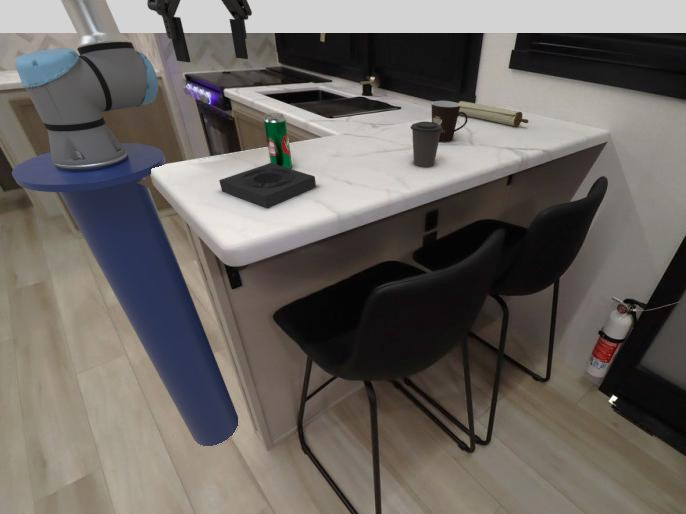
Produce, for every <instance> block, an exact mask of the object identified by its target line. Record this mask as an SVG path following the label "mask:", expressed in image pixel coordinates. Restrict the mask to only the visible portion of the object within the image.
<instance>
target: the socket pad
mask: <svg viewBox="0 0 686 514" xmlns="http://www.w3.org/2000/svg"><path fill="white" fill-rule="evenodd" d="M218 181H219V185H220V189H221V192H222V193H226V194H228V195H231V196H234V197H236V198H239V199H241V200H244V201H246V202H249V203H252V204H254V205H257V206H260V207H262V208H265V209H269V208H271V207H274V206H277V205H279V204H281V203H283V202H285V201H288V200H290V199H291V198H292V199H293V198H295V197H297V196H299V195H302V194H304V193H306V192H308V191H310V190H313V189H315V188H317V183H316V176H315V175H312V174H309V173H305V172H302V171H299V170H296V169H292V168H290V169H289V168H286V167H283V166H279V165H276V164H273V163H271V162H269V163H266V164H263V165H261V166H257V167H254V168H251V169H249V170H245V171H242V172H239V173H236V174H234V175H230V176H227V177H224V178H221V179H219V180H218Z"/></svg>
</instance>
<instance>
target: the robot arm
mask: <svg viewBox="0 0 686 514" xmlns="http://www.w3.org/2000/svg"><path fill="white" fill-rule="evenodd" d="M220 1H221V3H222V4H223V5H224V6H225V8H226V9H227V11H228V13H229V14H230V15H231V17H232V18H229V24H230V32H231V36H232V42H233V49H234V55H235V58H236V59H241V60H249V54H248V48H247V41H246V40H247V38H248V34H247V28H246V22H245V21H247V20H249V17H250V16H252V14H253V12H252V9H251V6H250V4H249V1H248V0H220ZM60 2H61V4H62V5H63V8H64V10H65V12H66V14H67V15H68V18H69V19H70V21H71V24H72V26H73V28H74V31H75V32H76V34H77V36H78V38H79V39H78V42H77V45H76V46H75V47H76V50H74V49H72V48H66V47H65V48H61V47H60V48H52V49H43V50H38V51H37V50H36V51H33V52H28V53H25V54H21V55H20V56H18V57H16V58H15V61H14V67H15V69H16V72H17V74H18V76H19V79H20V82H21V85H22V86H23V87H24V88H25V91H26V92H27V95H28V97H29V98H30V101H31V102H32V104H33V106H34V108H35V109H36V112H37V114H38V116H39V118H40V120H41V122H42V123H43V125H44V127H45V129H46V132H47V134H48V141H49V151H50V152H51V157H52V160H53V163H54V165H55V167H56V168H57V169H59V170H63V171H71V172H81V171H93V170H99V169H105V168H109V167H113V166H116V165H119V164H121V163H123V162H125V161H126V160H127V159H128V155H127V152H126V150H125V149H124V147H123V146H122V145H121V143H122V142H120V141H119V140H118V138H117V136H116V135H115V134H114V133H113V131H112V130H111V129H110V128H109V127H108V125H107V123H106V121H105V119H104V116H103V112H104V113H105V112H109V111H110V112H111V111H117V110H122V109H128V108H129V109H130V108H134V107H135V108H138V107H142V106H145V105H149V104H152V103H153V102H155V100H156V99H157V97H158V92H159V82H158V77H157V76H158V75H157V73H156V70H155V67H154V66H153V64H152V61H151V60H150V59H148V56H147V55H146V54H144V53H143V52H140V51H138V50H136V49H135V47H134V45H133V42H132V40H130V39H128V38H126V36H124V35H123V34H122V33H121V31H120V29H119V27H118V25H117V22H116V19H115V17H114V16H113V13H112V11H111V9H110V6H109V4H108V1H107V0H60ZM146 2H147V4H146V5H147V8H148V9H149V10H150V11H154V12H156V14H157V15H158V16H161V18H162V20H163V24H164V28H165V33H166V36H167V38H168V39H169V40H171V42H172V47H173V51H174V54H175V58H176V61H177V62H183V63H191V62H192V61H191V58H190V53H189V49H188V44H187V39H186V35H185V32H184V27H183V23H182V19H181V17H180V16H175V15H176V13H177V11H178V8H179V5H180V2H181V0H147V1H146ZM77 52H78V53H77Z"/></svg>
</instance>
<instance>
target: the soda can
mask: <svg viewBox="0 0 686 514" xmlns="http://www.w3.org/2000/svg"><path fill="white" fill-rule="evenodd" d="M263 117H264V118H263V121H262V122H263V128H264V132H265V139H266V144H267V149H268V151H267V152H268V157H269V161H270V162H269V163H273V164H276V165H279V166H283V167H286V168H289V169H292V168H293V158H292V151H291V145H290V139H289V138H290V137H289V132H288V123H287V119H286V118H285V115H284V114H283V113H279V112H271V113H270V112H269V113H265V114H264V115H263Z"/></svg>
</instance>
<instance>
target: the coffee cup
mask: <svg viewBox="0 0 686 514" xmlns="http://www.w3.org/2000/svg"><path fill="white" fill-rule="evenodd" d="M410 130H411V131H412V133H411V134H412V151H413V165H414V166H416V167H420V168H431V167H434V165H435V163H436V157H437V153H438V147H439V143H440V142H439V138H440V133H441V131H442V130H443V128H442V126H441V125H438V124H437V123H433V122H432V121H419V122H415V123H412V124H411V126H410Z"/></svg>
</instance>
